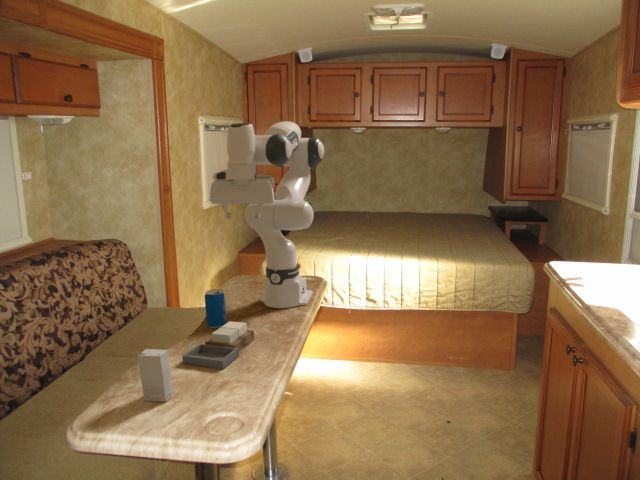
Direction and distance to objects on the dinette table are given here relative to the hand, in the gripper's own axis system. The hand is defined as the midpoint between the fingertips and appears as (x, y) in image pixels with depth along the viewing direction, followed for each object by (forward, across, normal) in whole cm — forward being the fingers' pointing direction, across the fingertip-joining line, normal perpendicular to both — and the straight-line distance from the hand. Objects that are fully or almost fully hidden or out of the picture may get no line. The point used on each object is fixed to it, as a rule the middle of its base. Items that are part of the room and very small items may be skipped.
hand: (242, 218), depth 166 cm
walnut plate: (+38, +2, +12) cm, 40 cm away
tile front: (+35, +3, +14) cm, 38 cm away
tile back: (+35, +2, +9) cm, 36 cm away
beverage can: (+37, +11, -5) cm, 39 cm away
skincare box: (+42, +13, +43) cm, 62 cm away
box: (+39, +6, +22) cm, 45 cm away
